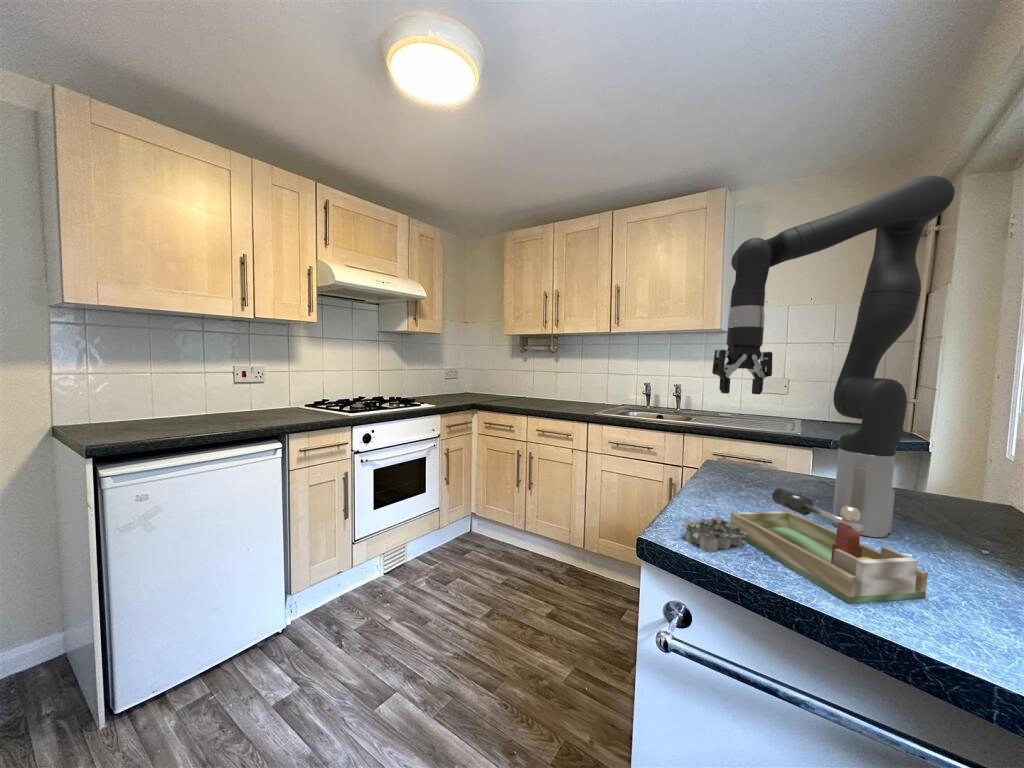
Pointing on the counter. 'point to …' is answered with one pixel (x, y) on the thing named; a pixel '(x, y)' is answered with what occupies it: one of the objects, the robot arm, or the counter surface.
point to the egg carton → (713, 533)
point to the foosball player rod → (846, 527)
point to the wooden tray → (848, 575)
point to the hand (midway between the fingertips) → (740, 393)
